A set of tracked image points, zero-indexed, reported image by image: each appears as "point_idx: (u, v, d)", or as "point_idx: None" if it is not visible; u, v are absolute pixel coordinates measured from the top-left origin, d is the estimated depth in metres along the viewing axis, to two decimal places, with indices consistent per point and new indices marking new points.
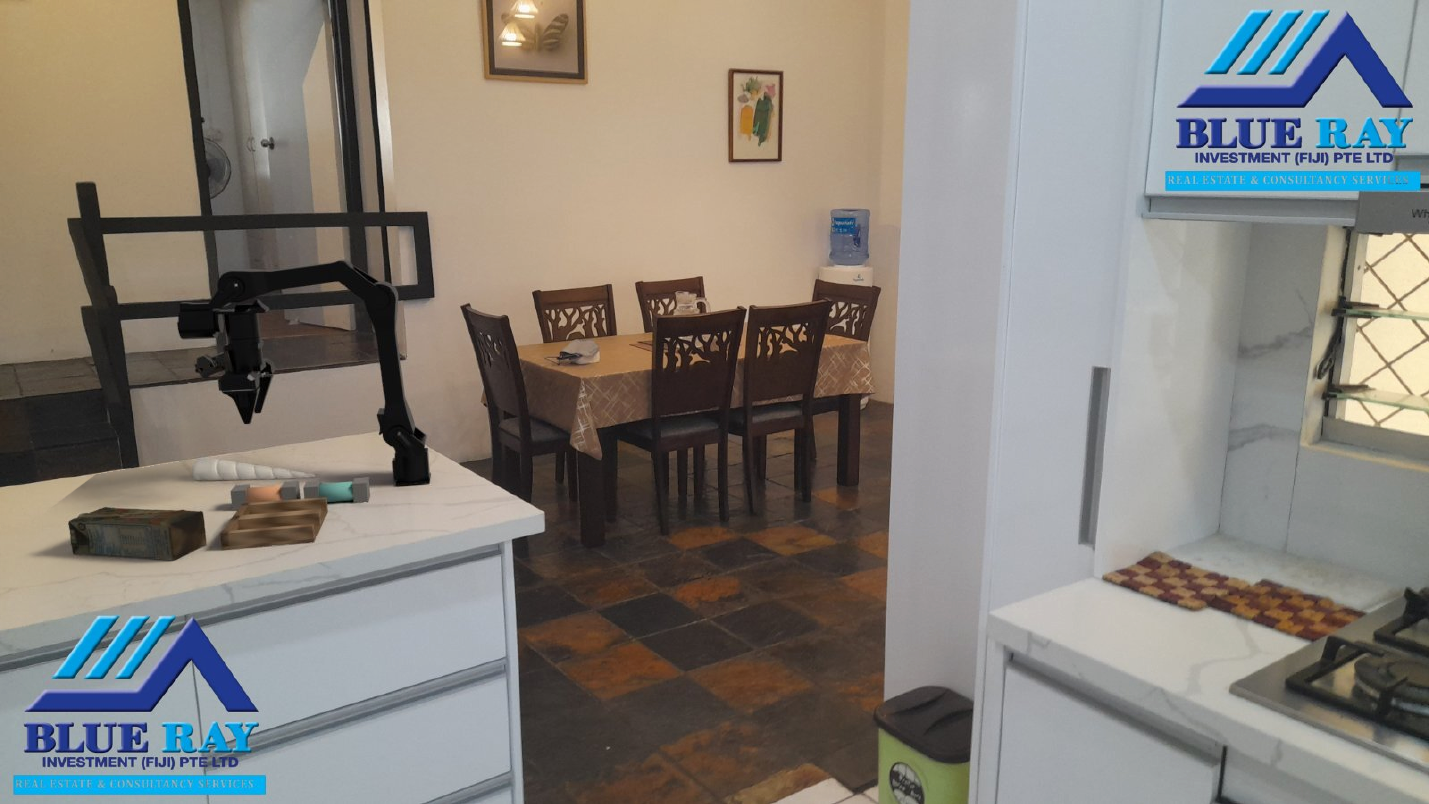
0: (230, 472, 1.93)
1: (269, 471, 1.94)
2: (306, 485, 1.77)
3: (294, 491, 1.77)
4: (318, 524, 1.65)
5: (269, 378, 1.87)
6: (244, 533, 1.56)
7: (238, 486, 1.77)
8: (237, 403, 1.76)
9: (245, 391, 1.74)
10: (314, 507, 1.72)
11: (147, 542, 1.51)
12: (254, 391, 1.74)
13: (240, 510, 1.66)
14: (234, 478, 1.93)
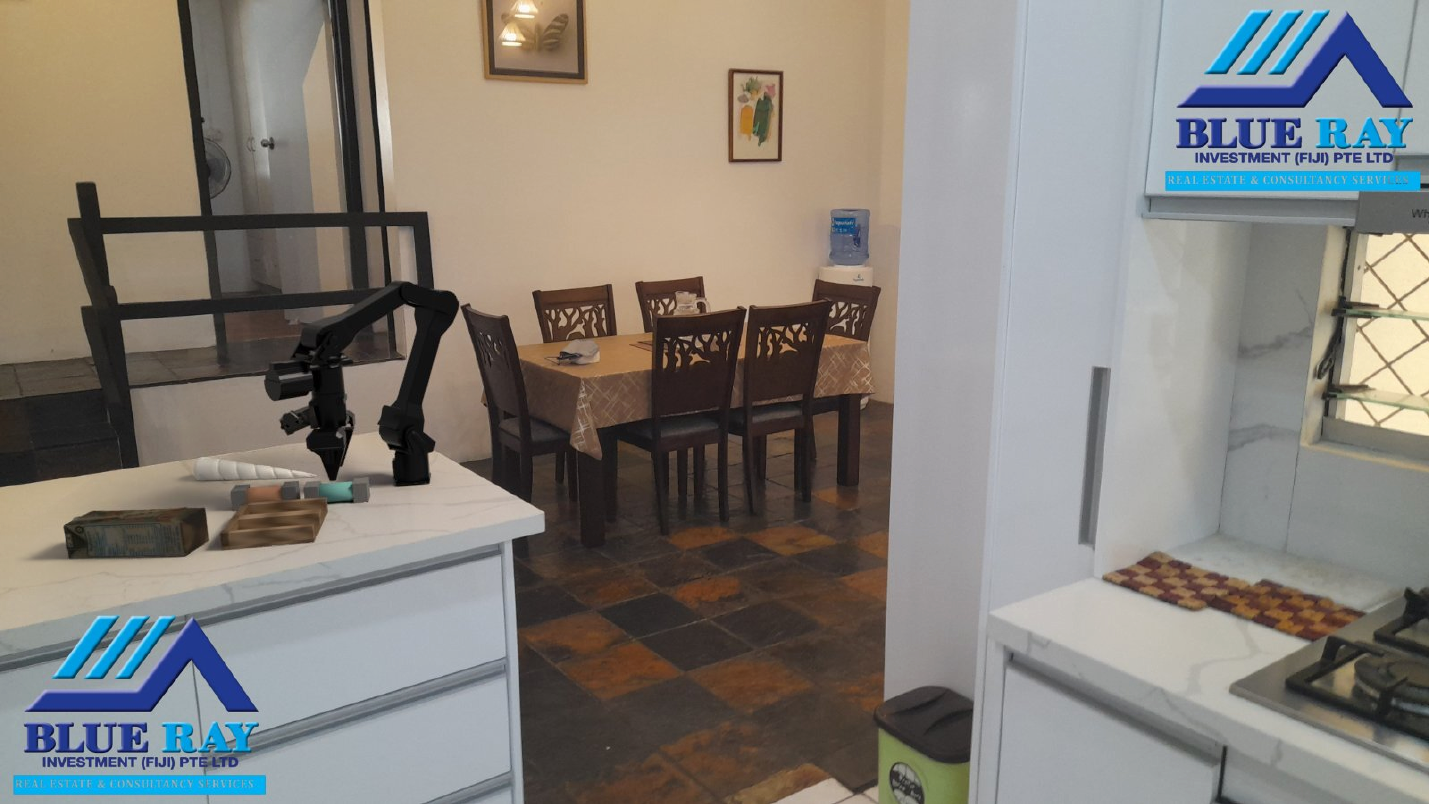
0: (231, 472, 1.93)
1: (270, 471, 1.94)
2: (306, 485, 1.77)
3: (294, 491, 1.77)
4: (318, 524, 1.65)
5: (351, 431, 1.83)
6: (244, 533, 1.56)
7: (238, 486, 1.77)
8: (324, 460, 1.72)
9: (333, 448, 1.70)
10: (314, 507, 1.72)
11: (156, 540, 1.52)
12: (342, 448, 1.70)
13: (240, 510, 1.66)
14: (235, 478, 1.93)
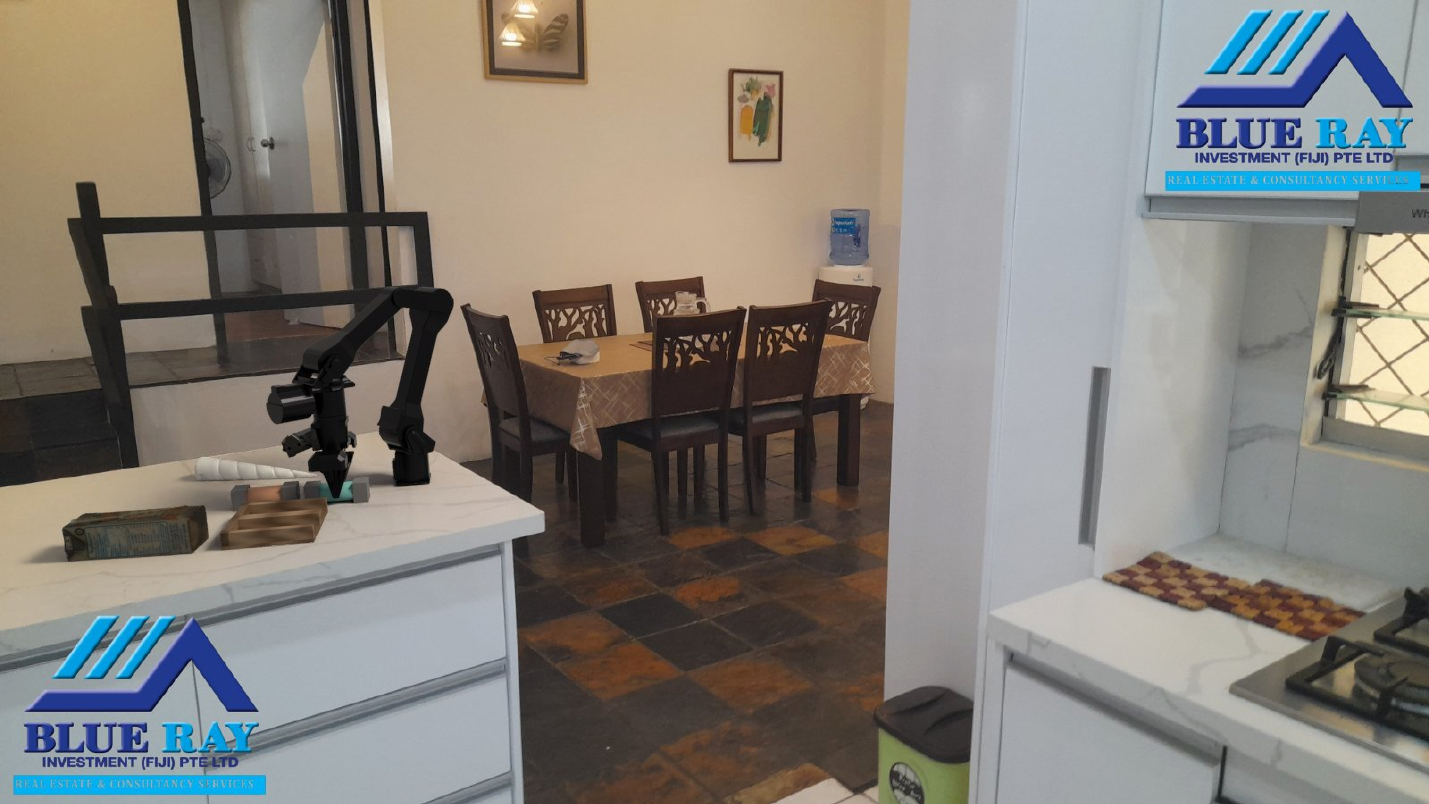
0: (232, 471, 1.93)
1: (271, 470, 1.94)
2: (306, 485, 1.77)
3: (294, 491, 1.77)
4: (318, 524, 1.65)
5: (351, 456, 1.81)
6: (244, 533, 1.56)
7: (238, 486, 1.77)
8: (327, 478, 1.75)
9: None
10: (314, 507, 1.72)
11: (161, 538, 1.53)
12: (345, 467, 1.74)
13: (240, 510, 1.66)
14: (236, 478, 1.93)
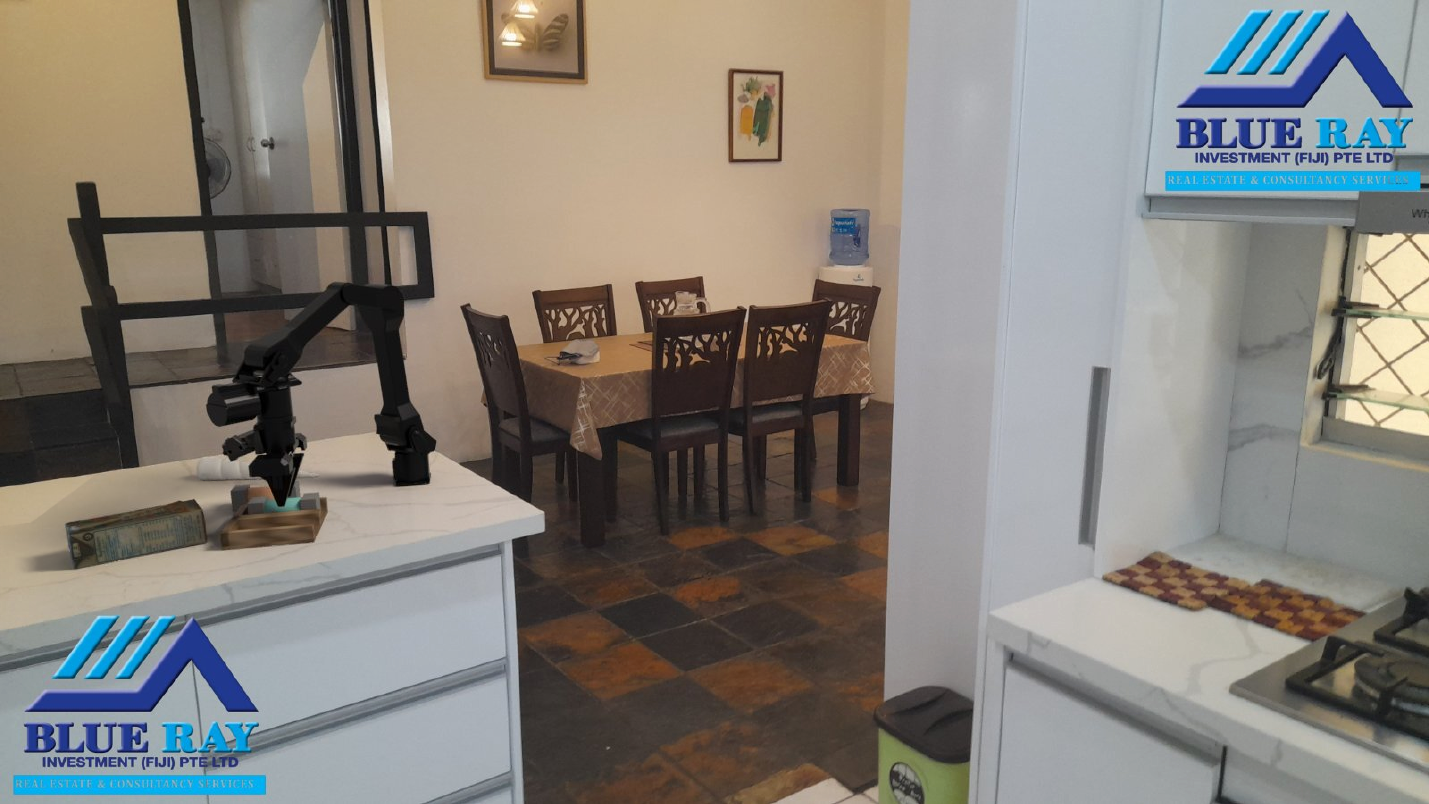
0: (234, 471, 1.93)
1: None
2: (251, 501, 1.66)
3: (294, 491, 1.77)
4: (318, 524, 1.65)
5: (300, 458, 1.70)
6: (244, 533, 1.56)
7: (238, 486, 1.77)
8: (271, 485, 1.63)
9: None
10: None
11: (175, 532, 1.55)
12: (290, 473, 1.61)
13: (240, 510, 1.66)
14: (238, 477, 1.94)
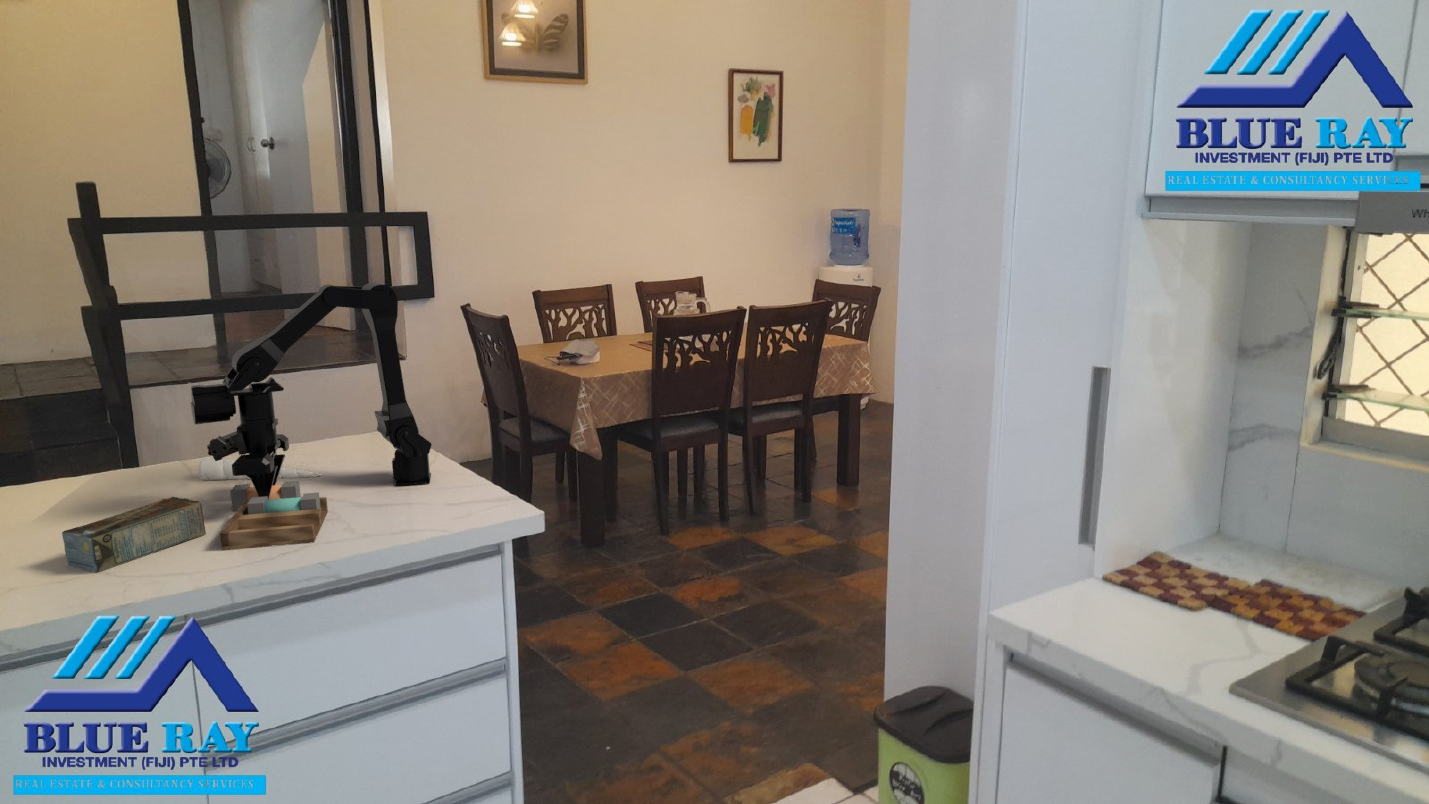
0: None
1: None
2: (251, 501, 1.66)
3: (294, 491, 1.77)
4: (318, 524, 1.65)
5: (281, 459, 1.79)
6: (244, 533, 1.56)
7: (238, 486, 1.77)
8: (255, 482, 1.73)
9: None
10: None
11: (180, 526, 1.58)
12: (272, 471, 1.72)
13: (240, 510, 1.66)
14: (240, 477, 1.94)
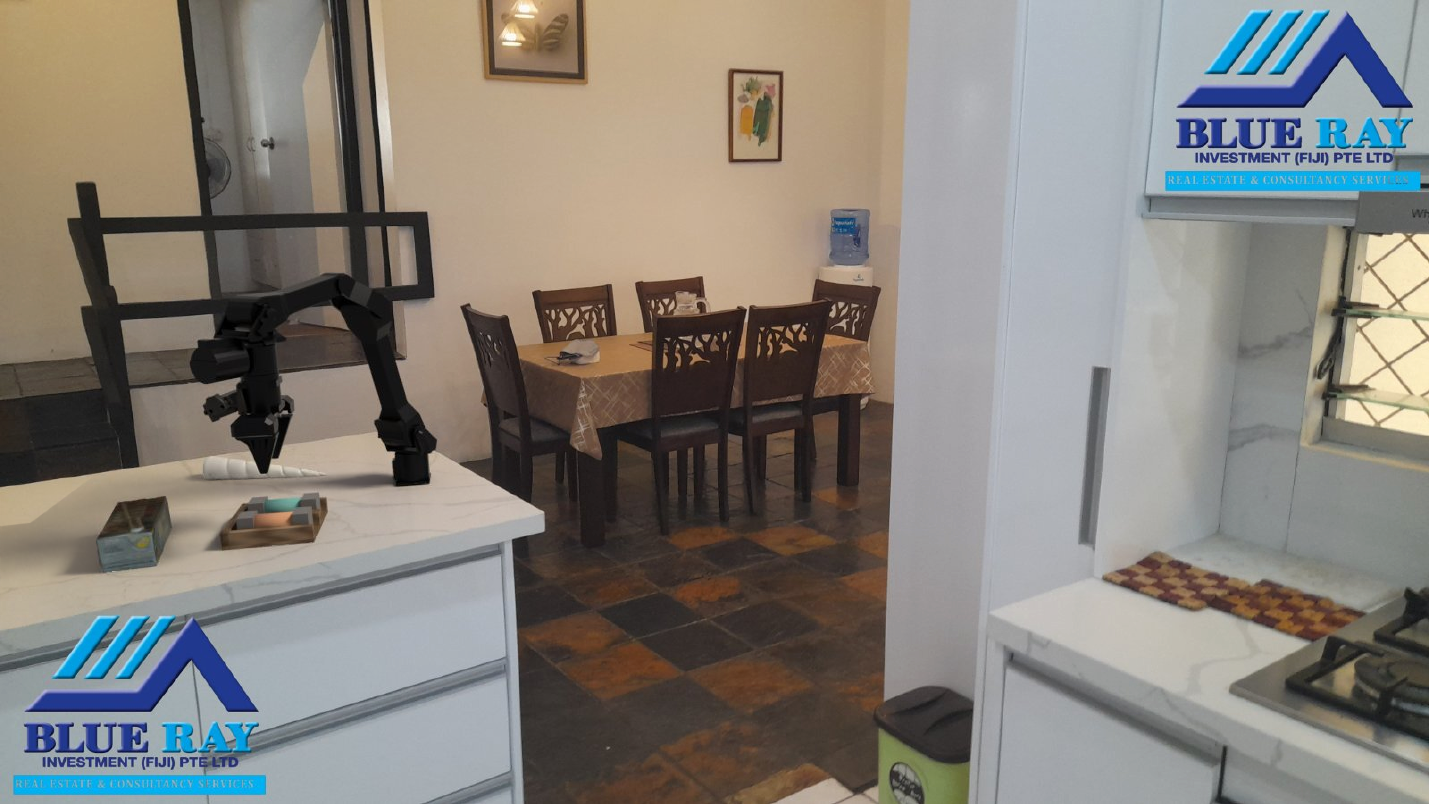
0: (240, 471, 1.94)
1: (279, 469, 1.95)
2: (251, 501, 1.66)
3: (306, 518, 1.60)
4: (318, 524, 1.65)
5: (288, 418, 1.62)
6: (244, 533, 1.56)
7: (244, 513, 1.60)
8: (253, 450, 1.51)
9: (262, 437, 1.49)
10: None
11: (167, 519, 1.61)
12: (272, 437, 1.50)
13: (240, 510, 1.66)
14: (244, 477, 1.94)
